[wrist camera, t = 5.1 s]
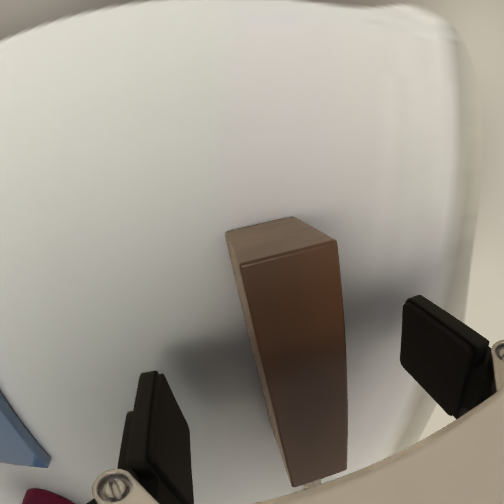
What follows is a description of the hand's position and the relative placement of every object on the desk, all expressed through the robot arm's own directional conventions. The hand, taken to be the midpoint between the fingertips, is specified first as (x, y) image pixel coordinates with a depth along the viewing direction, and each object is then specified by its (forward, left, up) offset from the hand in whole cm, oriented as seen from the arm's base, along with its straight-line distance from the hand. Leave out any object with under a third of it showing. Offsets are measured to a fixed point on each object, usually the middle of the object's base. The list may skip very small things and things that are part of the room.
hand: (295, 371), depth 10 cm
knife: (0, -4, -2) cm, 5 cm away
